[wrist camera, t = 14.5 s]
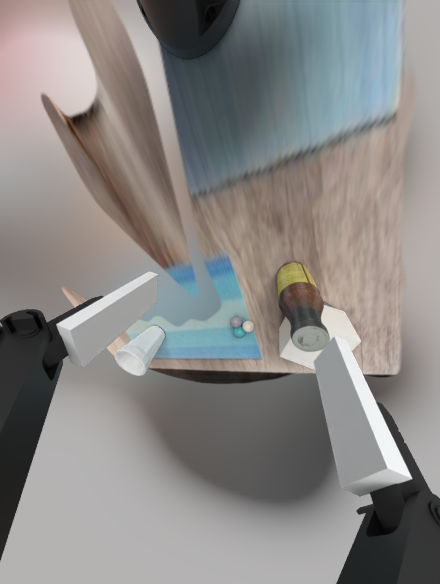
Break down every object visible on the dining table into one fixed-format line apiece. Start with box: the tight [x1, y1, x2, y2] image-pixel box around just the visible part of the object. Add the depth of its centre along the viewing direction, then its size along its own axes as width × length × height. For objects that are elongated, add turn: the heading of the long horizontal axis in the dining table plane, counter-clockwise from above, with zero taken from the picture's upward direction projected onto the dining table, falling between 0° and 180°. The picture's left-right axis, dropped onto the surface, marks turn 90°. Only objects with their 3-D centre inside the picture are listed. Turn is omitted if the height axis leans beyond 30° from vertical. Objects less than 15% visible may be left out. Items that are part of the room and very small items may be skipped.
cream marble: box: [242, 321, 254, 332], centre depth 45 cm, size 3×3×3 cm
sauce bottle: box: [277, 261, 330, 352], centre depth 28 cm, size 6×6×20 cm
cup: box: [115, 326, 165, 376], centre depth 53 cm, size 10×10×13 cm
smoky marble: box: [230, 316, 242, 328], centre depth 45 cm, size 3×3×3 cm
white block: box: [279, 305, 361, 370], centre depth 36 cm, size 10×10×9 cm
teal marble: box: [234, 326, 245, 338], centre depth 46 cm, size 3×3×3 cm
